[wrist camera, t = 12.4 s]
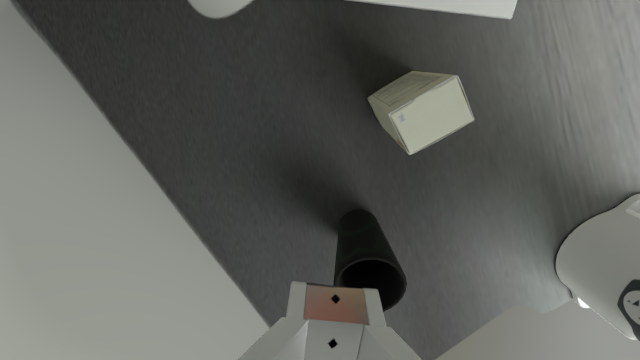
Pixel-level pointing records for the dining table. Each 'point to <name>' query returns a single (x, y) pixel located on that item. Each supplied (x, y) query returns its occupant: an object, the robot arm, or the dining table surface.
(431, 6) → the board
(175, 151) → the dining table surface
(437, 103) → the skincare box
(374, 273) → the cup
